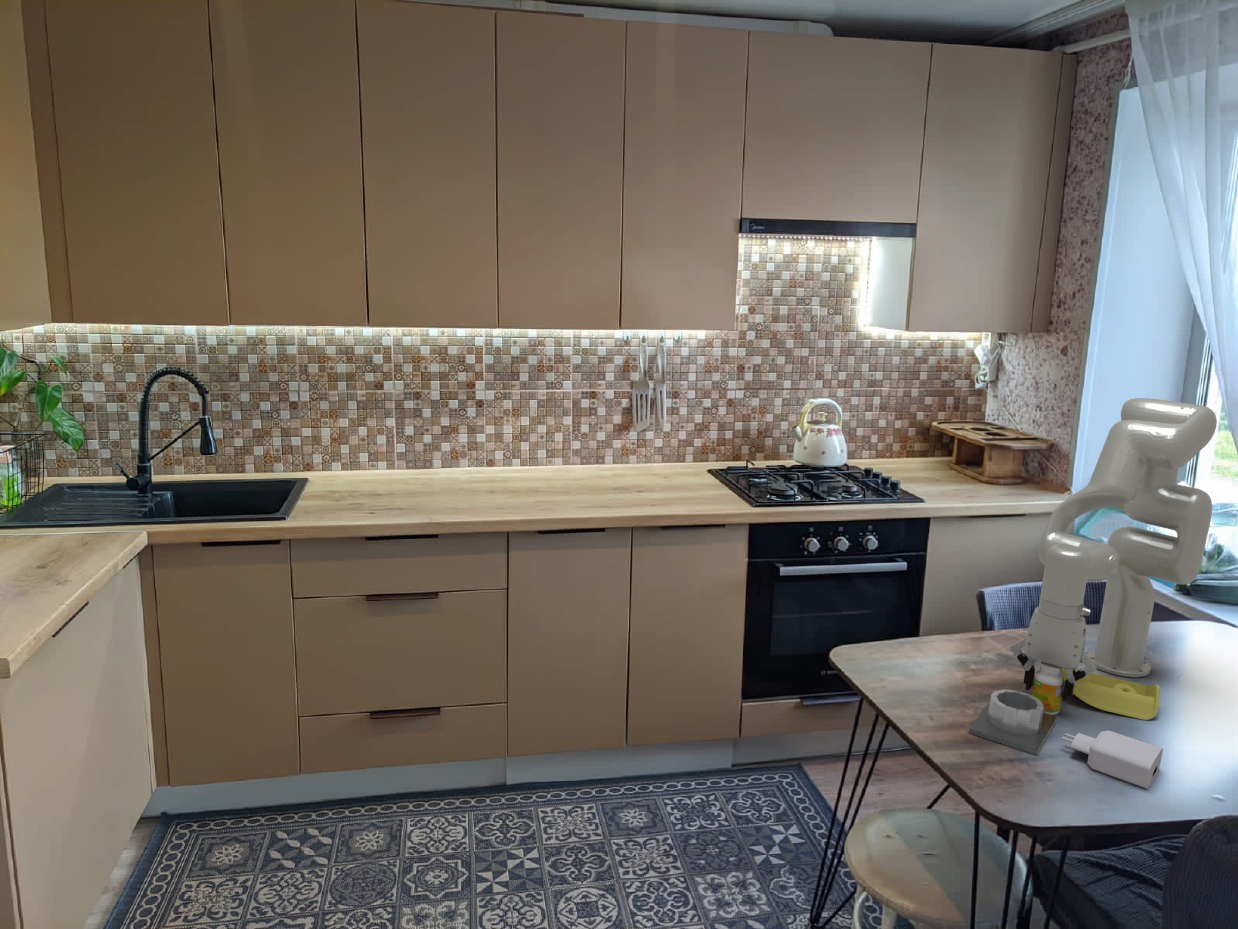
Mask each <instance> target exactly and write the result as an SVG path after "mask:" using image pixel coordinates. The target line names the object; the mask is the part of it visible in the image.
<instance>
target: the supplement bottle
mask: <svg viewBox="0 0 1238 929" xmlns="http://www.w3.org/2000/svg"><path fill="white" fill-rule="evenodd" d="M1062 668H1063V667H1059V666H1055V665H1051V664H1048V663H1044V662H1040V664H1039V669H1038V670H1037V671H1035V674H1034V681H1033V686H1032V690H1031V695H1032V696H1034V697H1035V698H1037V699H1039V700H1040V701H1041V702H1042V704H1043V705H1044V709H1043V713H1046V714H1050V715H1053V716H1055V715H1057V714H1059V713H1060V710H1061V706H1062V701H1063V700H1062V697H1063V687H1064V677H1063V676H1062V675H1061V673H1062Z"/></svg>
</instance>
